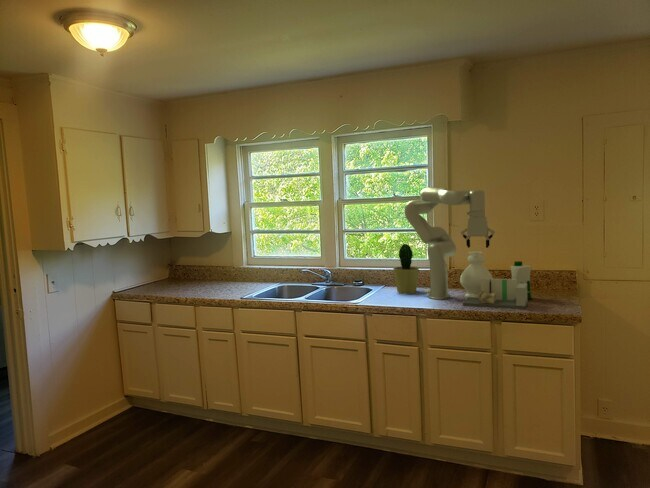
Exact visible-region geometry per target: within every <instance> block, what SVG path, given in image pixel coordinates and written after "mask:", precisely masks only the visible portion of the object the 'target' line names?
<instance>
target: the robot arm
mask: <svg viewBox="0 0 650 488" xmlns="http://www.w3.org/2000/svg"><path fill="white" fill-rule="evenodd" d="M419 196H420V199H412V200H410V201H408V202H406V204H405V206H404V216H405V218H406V220H407V221H408V223H409V224H410V225H411V226H412V228H413V229H414V231H415V232H416V234H417V235H418V236H419V238H420V240H421V241H422V242H423V244H426V245H428V247H427V254H428V255H427V256H428V260H429V277H430V278H429V279H430V288H429V289H423V293H424V294H428V295H427V296H428V299H431V300H432V299H433V300H446V299H451V298H452V297H451V296H452V295H451V294H450V293H449V291H448V290H449V285H448V284H449V283H448V282H449V281H448V264H447V262H446V259H447V258H451V257H454V255H456V252H457V246H456V244H455V242H454V240H453V239H452V238H451V236H450V235H449V234H448V232H447V231H446V229H444V228H443V227H442V226H431V225H430V223H429V222H428V220H427V219H426V218H424V217H423V216H421V215H423V214H425V215H426V214H427V215H428V214H430V213H432V211H434V210H435V208H436V207H438V205H440V204H442V205H449V206H462V205H463V206H465V205H469V211H468V212H466V215H467V216H469V217H467V226H466V228H465V229H463V230H462V231H460V234H461V235H462V238H464V239H465V241H466V242H465V243H466V247H467V248H468V249H469V248H471V237H484V238H485V248H489V247H490V240H491V239H492V238H493V236H494V235H495V234H496V231H495V230H493V229H491V228H489V223H488V218H487V216H486V200H485V199H486V193H485V191H484V190H481V189H476V190H475V189H474V190H471V189H469V190H468V189H467V190H466V189H465V190H449V189H447V188H445V187H439V186H429V187H424V188H423V189H421V191H420V194H419ZM489 233H490V235H489Z"/></svg>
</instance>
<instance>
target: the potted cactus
mask: <svg viewBox="0 0 650 488" xmlns="http://www.w3.org/2000/svg"><path fill="white" fill-rule="evenodd" d="M397 253H398V258H399V260H398V261H399V264H400V265H401V266H397V267H396V266H395V267H393V268H392V269H393V274H394V280H395V285H396V286H395V287H396V291H397V293H398V292H399V293H398V294H402V293H406V294H407V293H410V294H415V293H416V292H417V285H418V277H419V267H418V266H415V265H412V264H413V258H414V254H413V250H412V247H411V245H410V244H408V243H404V244H403V243H402V244H401V246H400V247H399V250H398V252H397ZM406 294H405V295H406Z"/></svg>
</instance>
